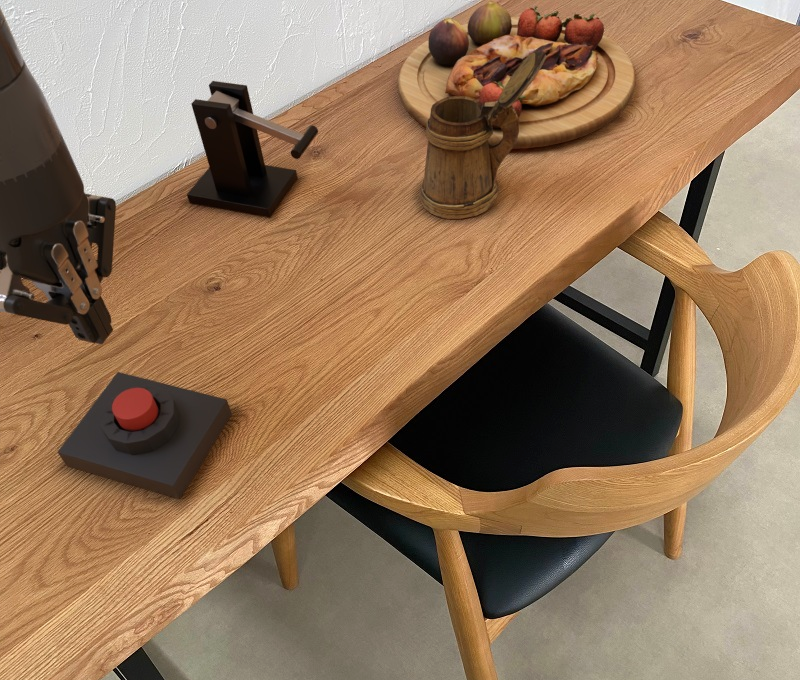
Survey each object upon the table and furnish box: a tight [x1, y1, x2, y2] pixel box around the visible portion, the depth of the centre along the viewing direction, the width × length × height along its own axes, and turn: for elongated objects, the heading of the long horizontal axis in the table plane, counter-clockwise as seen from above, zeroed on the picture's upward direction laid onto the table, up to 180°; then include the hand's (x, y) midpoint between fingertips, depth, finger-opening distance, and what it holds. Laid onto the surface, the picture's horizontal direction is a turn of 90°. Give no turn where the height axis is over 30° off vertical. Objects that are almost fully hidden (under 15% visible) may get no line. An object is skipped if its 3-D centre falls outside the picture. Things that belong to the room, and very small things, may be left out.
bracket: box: [186, 80, 299, 219], centre depth 93 cm, size 11×8×13 cm
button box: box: [57, 371, 233, 500], centre depth 73 cm, size 12×10×4 cm
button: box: [112, 388, 158, 431], centre depth 71 cm, size 4×4×2 cm
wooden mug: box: [419, 51, 547, 220], centre depth 87 cm, size 9×14×18 cm, turn 79°
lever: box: [206, 91, 319, 160], centre depth 89 cm, size 12×5×2 cm, turn 70°
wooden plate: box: [396, 0, 637, 149], centre depth 106 cm, size 32×32×8 cm
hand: (98, 336), depth 63 cm, fingers closed
